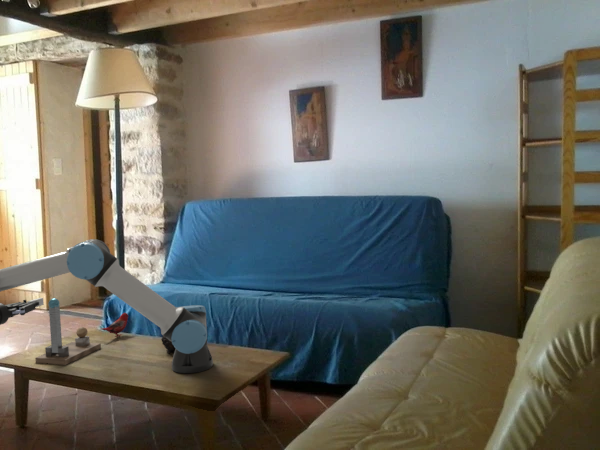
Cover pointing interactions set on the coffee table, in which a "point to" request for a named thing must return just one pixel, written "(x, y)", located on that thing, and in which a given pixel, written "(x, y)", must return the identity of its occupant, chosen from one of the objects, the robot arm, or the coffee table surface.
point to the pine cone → (168, 345)
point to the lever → (55, 325)
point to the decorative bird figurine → (118, 325)
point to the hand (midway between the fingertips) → (41, 301)
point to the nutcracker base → (70, 350)
